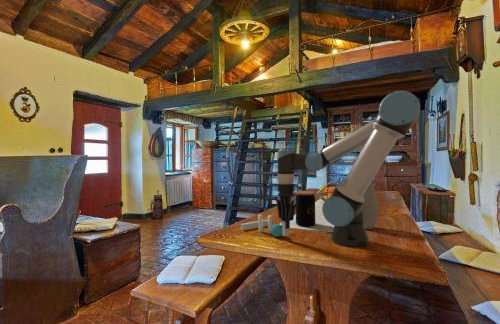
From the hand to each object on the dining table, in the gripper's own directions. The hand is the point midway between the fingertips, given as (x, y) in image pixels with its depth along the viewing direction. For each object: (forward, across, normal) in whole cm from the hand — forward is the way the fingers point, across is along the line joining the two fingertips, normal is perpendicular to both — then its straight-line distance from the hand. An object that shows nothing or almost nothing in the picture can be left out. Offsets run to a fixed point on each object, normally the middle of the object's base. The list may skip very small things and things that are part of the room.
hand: (285, 235), depth 118 cm
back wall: (+3, +25, -1) cm, 25 cm away
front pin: (+2, +12, 0) cm, 12 cm away
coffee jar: (+3, +15, -26) cm, 30 cm away
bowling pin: (+2, -8, -47) cm, 48 cm away
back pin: (+3, +17, +2) cm, 17 cm away
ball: (-1, +6, 0) cm, 6 cm away
